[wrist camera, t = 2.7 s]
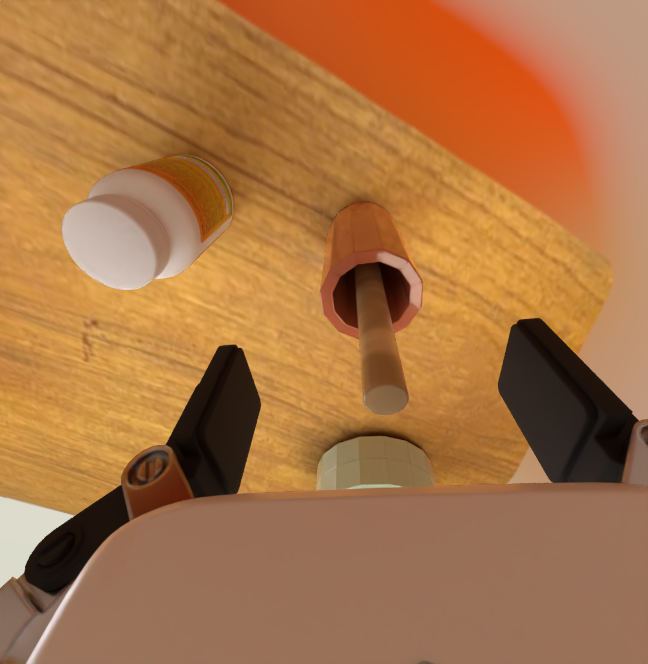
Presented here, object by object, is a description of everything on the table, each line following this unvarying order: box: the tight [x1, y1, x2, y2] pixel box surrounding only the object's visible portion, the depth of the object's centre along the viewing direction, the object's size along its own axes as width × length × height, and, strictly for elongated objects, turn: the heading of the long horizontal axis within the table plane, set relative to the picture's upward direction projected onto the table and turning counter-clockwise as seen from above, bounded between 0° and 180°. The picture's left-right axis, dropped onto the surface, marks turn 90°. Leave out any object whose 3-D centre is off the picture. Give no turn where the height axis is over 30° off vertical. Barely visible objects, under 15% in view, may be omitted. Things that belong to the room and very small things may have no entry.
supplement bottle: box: [62, 154, 234, 290], centre depth 18 cm, size 5×5×10 cm
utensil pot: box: [320, 202, 423, 339], centre depth 19 cm, size 5×5×9 cm
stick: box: [354, 262, 409, 415], centre depth 16 cm, size 1×1×15 cm
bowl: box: [316, 436, 437, 490], centre depth 36 cm, size 13×13×6 cm
